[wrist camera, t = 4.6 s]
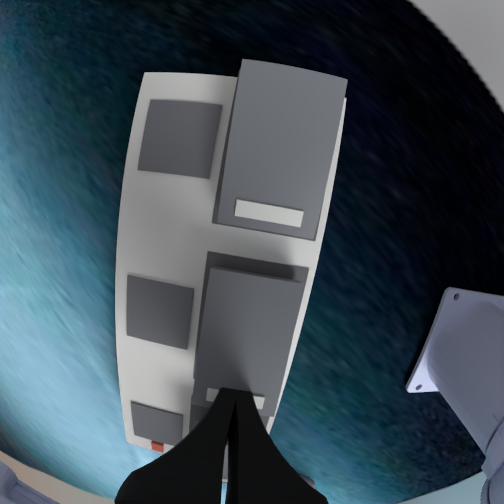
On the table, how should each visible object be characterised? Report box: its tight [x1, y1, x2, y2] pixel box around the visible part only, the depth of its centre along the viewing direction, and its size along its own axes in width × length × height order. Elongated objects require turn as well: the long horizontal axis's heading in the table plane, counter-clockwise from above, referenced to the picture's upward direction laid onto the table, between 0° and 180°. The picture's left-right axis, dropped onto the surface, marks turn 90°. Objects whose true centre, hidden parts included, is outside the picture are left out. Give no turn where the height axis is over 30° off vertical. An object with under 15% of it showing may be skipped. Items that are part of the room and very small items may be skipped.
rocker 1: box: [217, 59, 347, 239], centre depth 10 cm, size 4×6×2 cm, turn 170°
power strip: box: [115, 69, 346, 453], centre depth 15 cm, size 9×23×3 cm, turn 170°
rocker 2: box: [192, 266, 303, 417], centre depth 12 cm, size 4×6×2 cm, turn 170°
